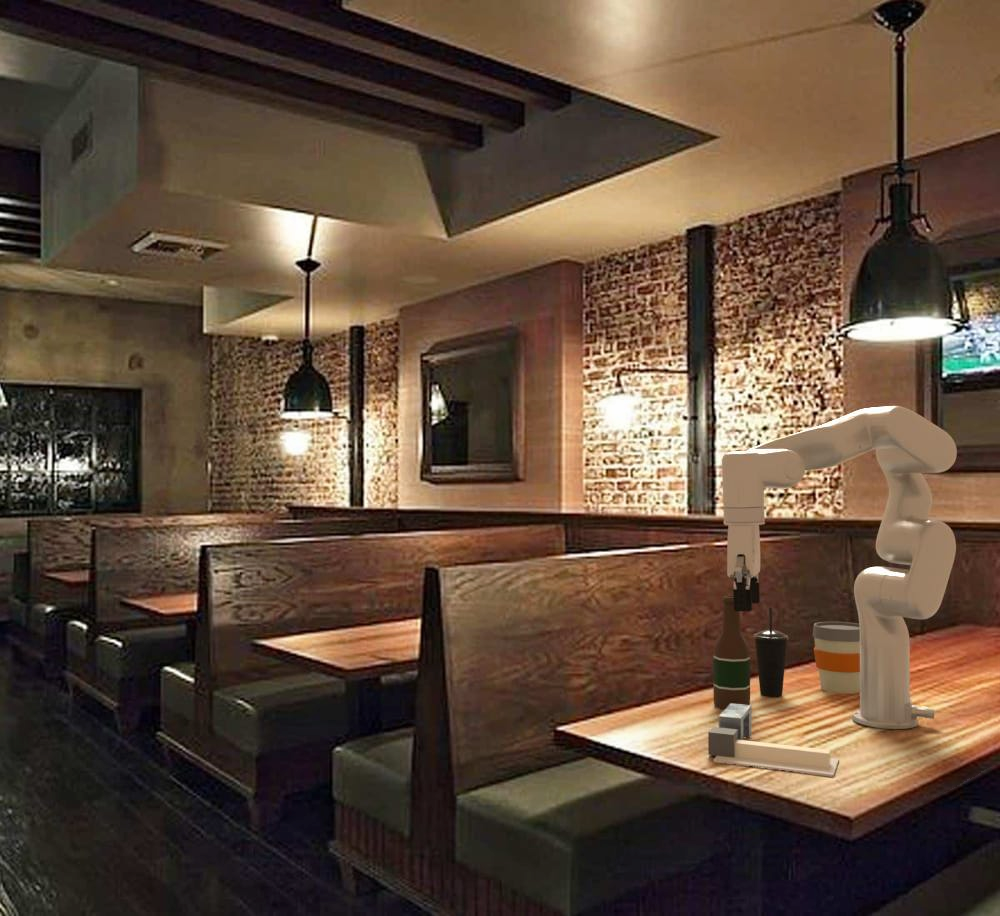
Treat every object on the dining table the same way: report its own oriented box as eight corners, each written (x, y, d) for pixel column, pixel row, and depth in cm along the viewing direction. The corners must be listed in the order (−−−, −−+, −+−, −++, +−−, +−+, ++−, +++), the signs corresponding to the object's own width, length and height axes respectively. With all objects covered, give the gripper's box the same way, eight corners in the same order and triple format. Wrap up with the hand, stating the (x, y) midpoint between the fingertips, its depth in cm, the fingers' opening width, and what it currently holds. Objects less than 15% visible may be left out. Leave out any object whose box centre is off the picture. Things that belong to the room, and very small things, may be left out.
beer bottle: (751, 712, 204) (750, 599, 205) (713, 710, 206) (713, 598, 206) (749, 703, 212) (748, 594, 212) (713, 701, 214) (712, 593, 214)
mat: (838, 760, 169) (838, 758, 169) (833, 777, 160) (833, 774, 160) (725, 747, 178) (725, 745, 178) (713, 762, 169) (713, 759, 169)
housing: (751, 735, 186) (751, 705, 186) (740, 750, 176) (740, 718, 176) (730, 732, 188) (730, 703, 188) (719, 747, 178) (718, 716, 178)
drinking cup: (749, 691, 224) (748, 605, 224) (781, 691, 224) (780, 605, 225) (760, 699, 216) (760, 610, 216) (793, 698, 217) (793, 609, 217)
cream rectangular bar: (831, 762, 167) (830, 739, 167) (828, 769, 163) (828, 745, 164) (713, 748, 176) (713, 726, 176) (708, 754, 172) (708, 732, 172)
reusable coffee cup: (852, 698, 217) (851, 631, 217) (802, 688, 227) (802, 625, 227) (879, 689, 226) (878, 625, 226) (830, 681, 235) (830, 619, 235)
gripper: (731, 513, 191) (734, 599, 191) (715, 520, 175) (718, 613, 175) (770, 513, 188) (773, 600, 188) (757, 519, 172) (760, 615, 172)
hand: (747, 606), depth 181 cm, fingers open, 9 cm apart
